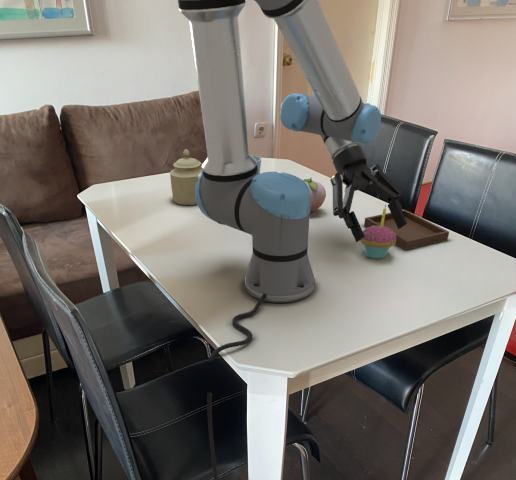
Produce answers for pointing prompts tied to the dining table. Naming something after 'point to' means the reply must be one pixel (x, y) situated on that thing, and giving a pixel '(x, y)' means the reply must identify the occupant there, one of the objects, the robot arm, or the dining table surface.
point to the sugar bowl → (185, 179)
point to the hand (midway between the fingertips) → (382, 232)
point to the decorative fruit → (315, 193)
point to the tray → (411, 230)
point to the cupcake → (378, 239)
